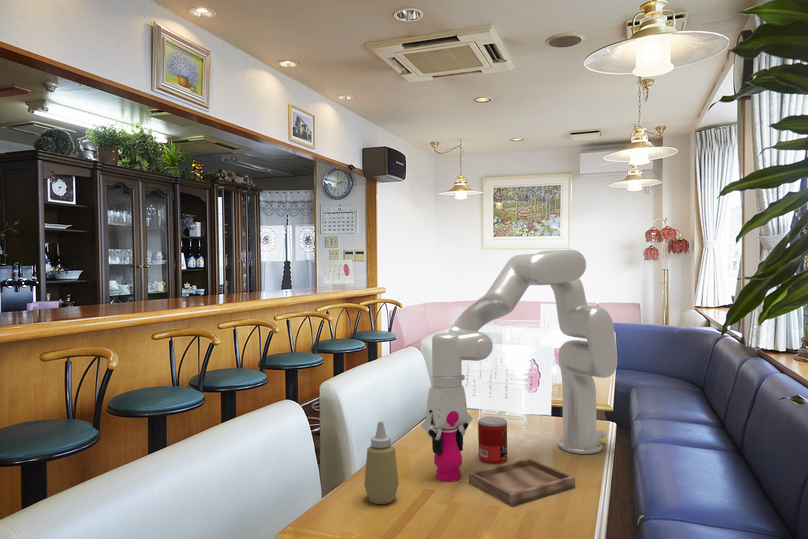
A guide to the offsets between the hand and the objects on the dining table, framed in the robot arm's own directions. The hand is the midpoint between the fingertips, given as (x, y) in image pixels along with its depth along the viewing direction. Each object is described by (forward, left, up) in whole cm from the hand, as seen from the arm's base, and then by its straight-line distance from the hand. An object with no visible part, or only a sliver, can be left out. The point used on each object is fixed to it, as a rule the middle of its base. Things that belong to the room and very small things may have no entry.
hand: (447, 451), depth 141 cm
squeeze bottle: (+21, +3, -7) cm, 22 cm away
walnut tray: (-12, +14, -7) cm, 20 cm away
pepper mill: (0, 0, -7) cm, 7 cm away
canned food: (-18, -4, -7) cm, 20 cm away
